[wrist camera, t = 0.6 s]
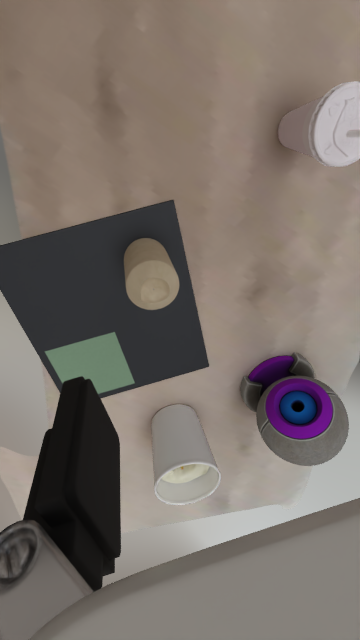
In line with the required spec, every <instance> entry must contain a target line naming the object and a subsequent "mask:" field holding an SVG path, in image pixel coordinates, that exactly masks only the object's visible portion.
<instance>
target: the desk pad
mask: <svg viewBox="0 0 360 640" xmlns="http://www.w3.org/2000/svg"><path fill="white" fill-rule="evenodd" d="M141 238H150V239H154V240H156V241H158V242H159V243H160V244H161V245H162V246H163V247H164V248H165V250H166V252H167V254H168V256H169V258H170V260H171V262H172V264H173V267H174V269H175V271H176V273H177V275H178V278H179V291H178V293H177V296H176V297H175V299H174V300H173V301H172V302H171V303H170V304H169V305H167V306H165V307H163V308H161V309H156V310H147V309H143V308H140V307H138V306H137V305H135V304H134V303H133V302H132V301H131V300H130V298H129V297H128V294H127V291H126V282H125V270H124V254H125V251H126V249H127V248H128V246H129V245H130V244H131V243H132V242H134V241H135V240H138V239H141ZM0 290H1V292H2V293H3V295H4V297H5V298H6V300H7V302H8V304H9V305H10V307H11V309H12V311H13V312H14V314H15V316H16V317H17V319H18V321H19V323H20V324H21V326H22V328H23V330H24V331H25V333H26V335H27V336H28V338H29V340H30V341H31V343H32V345H33V347H34V348H35V350H36V352H37V354H38V355H39V357H40V359H41V360H42V362H43V364H44V366H45V367H46V369H47V371H48V372H49V374H50V376H51V378H52V379H53V381H54V383H55V384H56V386H57V388H58V390H59V391H60V393H61V389H62V385H63V382H64V381H66V380H70V379H73V378H77V377H80V376H83V377H84V378H85V380H86V379H90V380H91V381H92V383H93V385H94V387H95V389H96V391H97V393H98V395H99V397H100V398H103V397H107V396H110V395H113V394H117V393H120V392H124V391H127V390H131V389H134V388H137V387H141V386H144V385H148V384H151V383H155V382H158V381H161V380H165V379H168V378H172V377H175V376H179V375H182V374H185V373H189V372H192V371H196V370H199V369H203V368H206V367H209V364H208V359H207V354H206V350H205V345H204V340H203V336H202V331H201V326H200V322H199V317H198V312H197V308H196V303H195V298H194V294H193V289H192V284H191V280H190V275H189V270H188V266H187V261H186V256H185V252H184V247H183V242H182V238H181V233H180V228H179V224H178V219H177V214H176V209H175V205H174V200H171V201H167V202H163V203H159V204H155V205H152V206H148V207H144V208H140V209H137V210H133V211H129V212H125V213H121V214H118V215H114V216H110V217H106V218H103V219H99V220H95V221H91V222H87V223H84V224H80V225H76V226H72V227H69V228H65V229H61V230H57V231H53V232H50V233H46V234H42V235H38V236H34V237H31V238H27V239H23V240H19V241H16V242H12V243H8V244H4V245H0Z"/></svg>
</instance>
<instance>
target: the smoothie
mask: <svg viewBox="0 0 360 640" xmlns="http://www.w3.org/2000/svg"><path fill="white" fill-rule="evenodd" d="M278 137H279V140H280V142H281V144H282V145H283V146H285V147H287V148H289V149H292V150H295V151H298V152H300V153H303V154H306V155H309V156H311V157H314V158H315V159H316V160H317V161H318V162H320V163H321V164H323V165H325V166H330V167H342V166H347V165H350V164H352V163H354V162H355V161H357V160H358V159H360V82H359V81H356V82H346V83H342V84H340V85H338V86H336V87H334V88H332V89H331V90H330V91H329V92H328V93H326V94H325V95H324V96H323V97H321V98H318V99H316V100H314V101H312V102H310V103H307V104H305V105H303V106H301V107H299V108H296V109H294V110H292V111H290V112H288V113H287V114H286V115H285V116H284V117H283V118H282V120H281V122H280V124H279V128H278Z"/></svg>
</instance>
